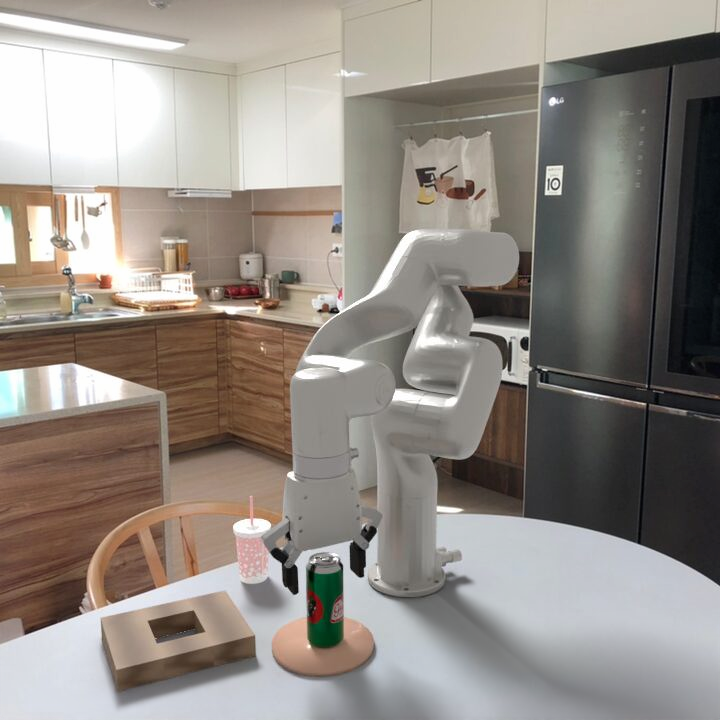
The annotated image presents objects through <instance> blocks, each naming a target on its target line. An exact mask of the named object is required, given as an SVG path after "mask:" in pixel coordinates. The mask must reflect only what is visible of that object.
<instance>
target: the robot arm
mask: <svg viewBox="0 0 720 720" xmlns="http://www.w3.org/2000/svg"><path fill="white" fill-rule="evenodd" d="M514 239H515V238H513V237H512V235H510V234H508V233H506V232H502V231H501V232H499V231H498V232H497V231H484V230H476V229H465V228H464V229H463V228H450V229H448V228H424V229H423V228H421V229H415V230H412V231H410V232H408V233H406V234H405V235H404V236H403V237H402V238H401V239H400V241H399V242H398V243H397V246H396V248H395V250H394V251H393V253H392V254H391V256H390V258H389V259H388V261H387V263H386V265H385V267H384V268H383V270H382V271H381V273H380V275H379V277H378V279H377V280H376V282H375V283H374V286H373V287H372V289H371V291H370V292H369V293H368V295H366V296H365V297H363V298H361V299H360V300H357V301H356V302H354V303H352V304H350V305H349V306H348V307H346V308H345V309H343V310H341V311H340V312H339V313H337V314H336V315H334V316H332V317H331V318H330V319H329V320H327V321H326V322H325V323H324V324H322V325H321V327H319V329H318V330H317V331H316V332H315V334H314V335H313V337H312V338H311V340H310V341H309V343H308V345H307V347H306V348H305V349H304V352H303V354H302V355H301V357H300V360H299V362H298V363H297V366H296V368H295V373H294V374H293V375H292V377H291V379H290V383H289V398H290V400H289V401H290V418H291V419H290V422H291V423H290V425H291V448H292V471H289V472H287V475H286V479H285V483H284V490H283V491H284V492H283V502H282V503H283V504H282V520H281V521H279V522H278V523H277V524H276V525H275V524H274V526H273V527H271V529H270V530H269V531H267V532H266V533H265V534H263V535H262V536H261V541H262V542H263V544H264V546H265V547H266V549H267V550H268V552H269V554H270V556H271V557H272V558H273V559H275V560H276V561H277V562H279V563H280V564H281V579H282V584H283V587H284V588H287V589H288V591H289V592H291V594H292V596H295V595H298V594H299V593H300V589H299V569H298V568H299V567H298V566H297V565H296V562H297V560H298V559H299V558H300V556H301V554H302V553H303V552H308V551H312V550H318V549H321V548H327V547H330V546H334V545H338V544H344V543H346V542H350V544H349V545H348V546H349V569H350V571H351V572H352V573H354V574H355V575H356V577H358V578H359V579H361V578H364V577H365V568H366V567H367V552H366V550H368V549H369V547H370V543H371V541H372V540H373V538H374V537H375V536H376V535H377V537H376V538H377V540H376V541H377V542H376V544H377V545H376V547H377V548H376V549H377V552H376V554H377V555H376V556H377V557H376V558H377V559H376V560H377V561H376V562H375V563H373V564H372V565H371V566H370V567H369V569H368V570H367V581H368V583H369V585H370V586H371V587H372V588H373V589H375V590H376V591H379V592H380V593H383V594H386V595H388V596H393V597H401V598H417V597H419V598H420V597H424V596H428V595H431V594H434V593H436V592H438V591H439V590H440V589H442V588H443V587H444V585H445V583H446V571H445V570H444V567H446V566H447V564H453V563H457V562H460V561H462V560H463V556H462V555H463V554H462V552H461V550H460V549H459V548H458V549H452V550H447V548H446V547H445V546H440V547H437V527H438V526H437V525H438V524H437V522H438V521H437V520H438V519H437V518H438V515H437V514H438V474H437V470H436V467H435V464H434V462H433V460H432V459H431V456H434V457H437V458H438V457H440V458H443V459H444V458H445V459H450V460H465V459H468V458H470V457H471V456H472V455H473V454H474V453H475V451H477V449H478V447H479V444H480V442H481V441H482V437H483V435H484V432H485V428H486V426H487V423H488V420H489V418H490V415H491V412H492V409H493V407H494V403H495V400H496V398H497V394H498V392H499V388H500V385H501V380H502V375H503V368H504V367H503V356H502V352H501V350H500V348H499V347H498V345H497V344H496V343H495V342H493V341H492V340H490V339H487V338H484V337H478V336H470V334H471V329H472V327H473V324H474V313H473V310H472V308H471V305H470V303H469V302H468V300H467V298H466V297H465V296H464V294H463V293H462V291H461V289H460V287H459V286H461V287H462V286H463V287H481V288H482V287H486V288H487V287H496V286H497V287H499V286H504V285H506V284H507V283H509V282H510V281H511V280H512V279H513V278H514V277H515V274H516V273H517V271H518V268H519V264H520V252H519V247H518V245H517V242H516V241H515V240H514ZM415 328H416V329H415ZM414 329H415V332H414V334H413V336H412V338H411V341H410V344H409V346H408V348H407V351H406V354H405V356H404V360H403V362H402V363H403V364H402V376H403V378H404V381H406V383H407V384H408V385H409V386H411V387H413V388H415V389H410V388H396V387H397V384H396V378H395V375H394V373H393V371H392V370H391V369H390V368H389V367H388V366H387V365H386V364H384V363H382V362H380V361H377V360H372V359H365V358H358V357H349V355H351V354H352V353H354V352H355V351H356V350H359V349H360V348H362V347H365V346H367V345H370V344H373V343H376V342H380V341H383V340H387V339H391V338H394V337H397V336H401V335H403V334H405V333H408V332H410V331H412V330H414ZM418 389H419V390H418ZM369 416H370V425H371V426H370V427H371V431H372V435H373V437H372V438H373V441H374V447H375V455H376V465H377V468H376V469H377V473H376V475H377V492H376V493H377V494H376V495H377V497H376V498H377V505H376V507H377V509H374V508H371V507H368V506H366V505H362V504H361V503H362V501H361V495H360V490H359V484H358V480H357V476H356V473H355V472H356V471H355V468H353V466H352V460H354V459H357V458H359V456H360V451H359V449H358V448H357V447H353V448H352V447H350V421H351V420H352V419H355V418H356V419H357V418H362V417H363V418H364V417H369ZM363 518H366V519H367V523H366V524H365V525H364V526H363ZM282 537H283V538H284V540H285V541H286V542H285V544H284V545H283V546H282V548H280V547H278V545H277V540H279V539H281V538H282ZM351 541H352V542H351Z"/></svg>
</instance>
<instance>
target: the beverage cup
mask: <svg viewBox="0 0 720 720" xmlns="http://www.w3.org/2000/svg"><path fill="white" fill-rule="evenodd" d="M253 498H254V496H253V495H250V496H249V512H250V513H249V514H250V515H249V516H250V518H246V519H241V520H239V521H237V522H235V523H234V524H233V525H232V526H233V527H232V528H233V530H232V531H233V534H234V535H235V543H236V555H237V564H238V572H239V573H238V576H239V580H240V581H241V582H242V583H245V584H248V585H255V584H260V583H263V582H265V581H266V580H267V579H268V578H269V577H268V575H269V554H270V553H269V552H268V550H267V549H266V547H265V546H264V544H263V542H262V541H261V536H262V535H263V534H265V533H266V532H267V531H269V530H270V529H271V528H272V524H271V522H269V521H268V519H267V520H266V519H263V518H254V499H253Z"/></svg>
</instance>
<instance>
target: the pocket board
mask: <svg viewBox="0 0 720 720" xmlns="http://www.w3.org/2000/svg"><path fill="white" fill-rule="evenodd" d="M100 629H101V630H100V631H101V638H102V639H101V640H102V642H103V646H104V648H105V653H106V656H107V657H106V658H107V660H108V663H109V665H110V666H109V667H110V669H111V673H112V677H113V681H114V683H115V687H116V690H117V692H122V691H126V690H129V689H135V688H137V687H141V686H145V685H149V684H152V683H153V684H154V683H157V682H160V681H164V680H168V679H171V678H175V677H176V678H177V677H179V676H183V675H187V674H192V673H195V672H198V671H201V670H202V671H203V670H207V669H210V668H213V667H217V666H221V665H225V664H228V663H233V662H236V661H241V660H244V659H249V658H251V657H255V656H257V652H256V651H257V648H256V634H255V633H254V631H253V630H252V628H251V626H250V625H249V624H248V622H247V621H246V619H245V618H244V616H243V615H242V613H241V612H240V610H239V609H238V607H237V606H236V604H235V602H234V601H233V599H232V598H231V597H230V595H229V594H228V592H227V590H224V589H223V590H221V591H216V592H211V593H206V594H203V595H198V596H193V597H188V598H185V599H180V600H176V601H171V602H166V603H162V604H158V605H153V606H147V607H144V608H138V609H134V610H131V611H130V610H129V611H126V612H120V613H115V614H112V615H107V616H103V617H100ZM193 629H195V630H193ZM188 630H190V631H195V633H196V634H192V635H187V636H183V637H179V638H175V639H172V640H167V641H162V642H159V643H157V641H156V639H155V638H157V639H161V638H164V637H168V636H167V635H169V636H172V635H173V634H174V635H177V633H178V634H181V633H180V632H182V633H185V632H184V631H186V632H189V631H188ZM174 635H173V636H174ZM160 637H161V638H160Z"/></svg>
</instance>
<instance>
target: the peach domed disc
mask: <svg viewBox="0 0 720 720" xmlns="http://www.w3.org/2000/svg"><path fill="white" fill-rule="evenodd" d="M374 640H375V639H374V636H373V633H372V631H370V629H369V628H368V627H367V626H366V625H365V624H363V623H361V622H359V621H358V620H356V619H355V620H354V619H352V618H348V617H345V616H344V638H343V640H342V641H341V642H340V643H339V644H338V645H336V646H334V647H331V648H318V647H315V646H314V645H312V644H311V643H310V642H309V641H308V639H307V616H305V617H301V618H297V619H295V620H292V621H290V622H289V623H287V624H285V625H284V626H282V627H280V629H278V630H277V631H276V633H275V634H274V636H273V637H272V641H271V652H272V657H273V658H274V660H275V661H276V662H277V664H279V666H281V667H282V668H284V669H286V670H288V671H289V672H291V673H295V674H298V675H301V676H308V677H332V676H333V677H334V676H339V675H342V674H347V673H349V672H353V671H354V670H356V669H358V668H359V667H362V666H363V665H364V664H365V663H367V662H368V661H369V660H370V658H371V657H372V656H373V653H374V650H375V649H374V648H375V645H374V644H375V641H374Z"/></svg>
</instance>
